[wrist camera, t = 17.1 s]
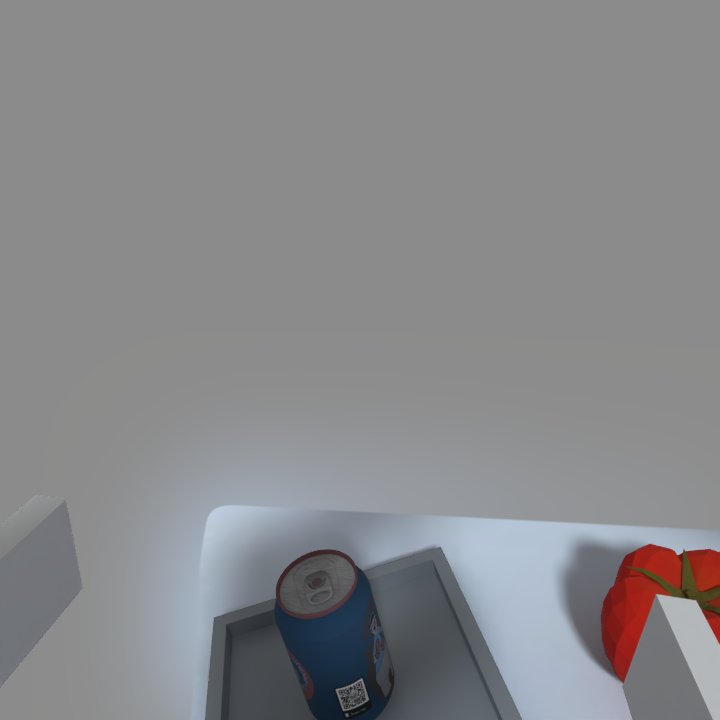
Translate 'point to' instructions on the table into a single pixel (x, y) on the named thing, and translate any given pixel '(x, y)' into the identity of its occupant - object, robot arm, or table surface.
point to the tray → (404, 642)
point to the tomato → (638, 590)
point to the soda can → (334, 637)
